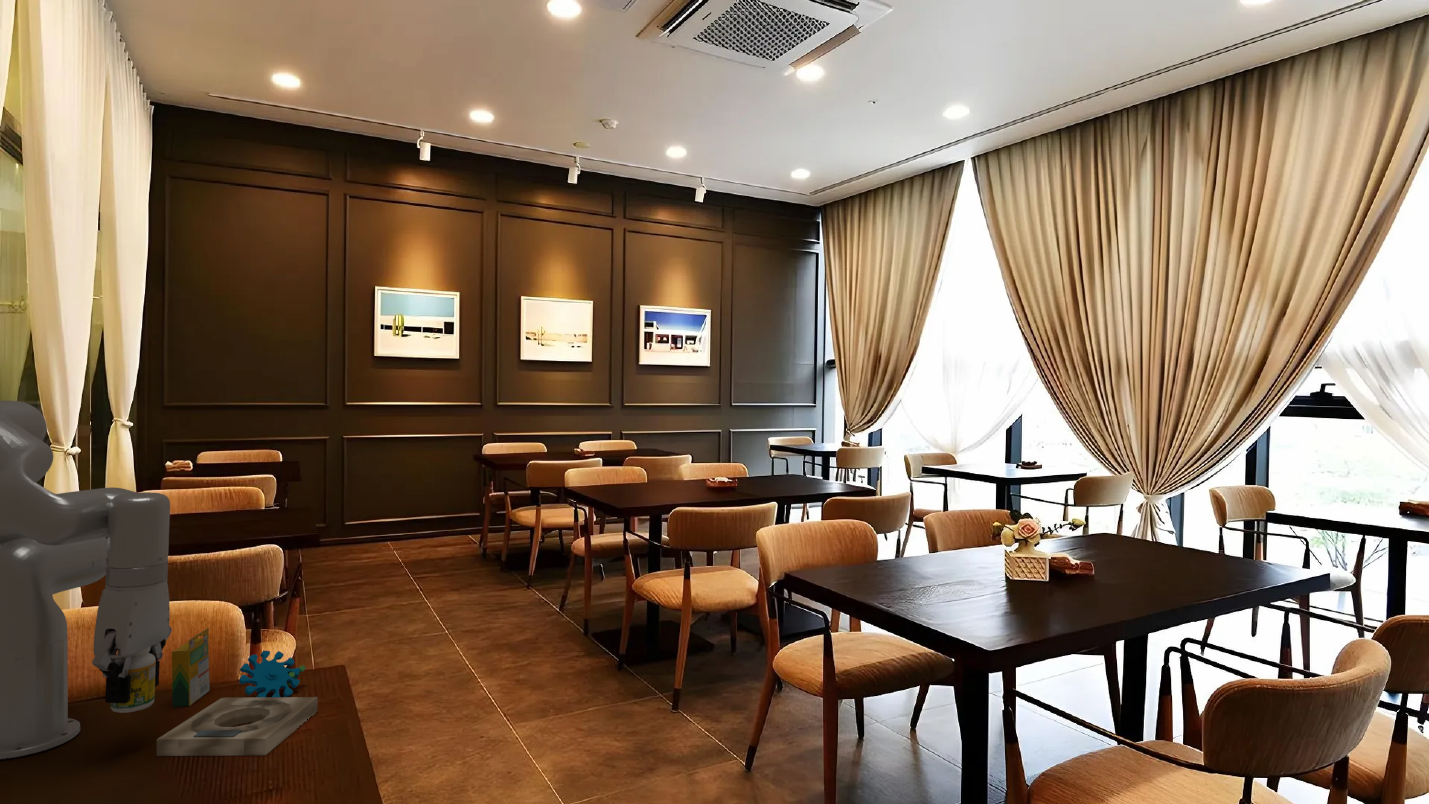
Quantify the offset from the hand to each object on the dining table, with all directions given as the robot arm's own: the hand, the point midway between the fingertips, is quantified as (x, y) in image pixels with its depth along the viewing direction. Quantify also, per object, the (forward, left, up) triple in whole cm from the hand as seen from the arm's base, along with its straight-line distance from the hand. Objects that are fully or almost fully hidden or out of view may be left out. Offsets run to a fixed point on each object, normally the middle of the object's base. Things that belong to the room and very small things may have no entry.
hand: (132, 693), depth 117 cm
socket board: (+13, +6, -9) cm, 17 cm away
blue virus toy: (+10, +21, -9) cm, 25 cm away
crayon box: (-4, +20, -9) cm, 22 cm away
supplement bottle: (0, 0, -2) cm, 2 cm away
